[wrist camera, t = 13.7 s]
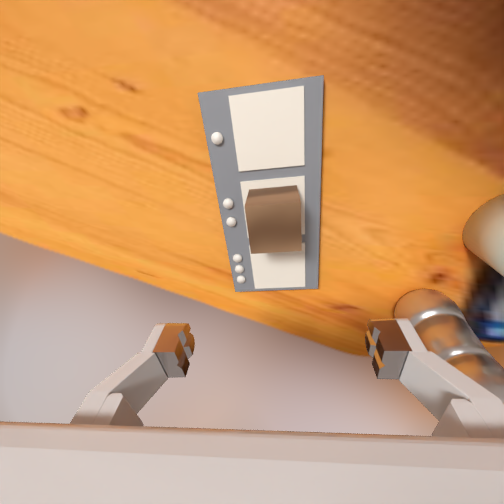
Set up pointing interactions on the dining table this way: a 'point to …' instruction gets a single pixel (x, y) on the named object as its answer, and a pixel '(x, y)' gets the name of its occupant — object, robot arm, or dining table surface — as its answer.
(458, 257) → the dining table surface
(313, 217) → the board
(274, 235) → the marker cube
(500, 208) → the sage mug
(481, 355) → the plastic bottle
